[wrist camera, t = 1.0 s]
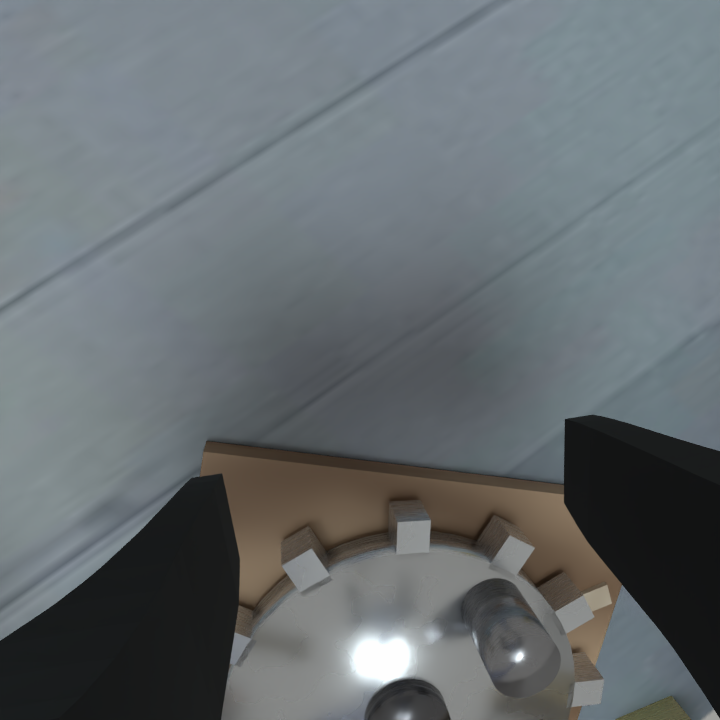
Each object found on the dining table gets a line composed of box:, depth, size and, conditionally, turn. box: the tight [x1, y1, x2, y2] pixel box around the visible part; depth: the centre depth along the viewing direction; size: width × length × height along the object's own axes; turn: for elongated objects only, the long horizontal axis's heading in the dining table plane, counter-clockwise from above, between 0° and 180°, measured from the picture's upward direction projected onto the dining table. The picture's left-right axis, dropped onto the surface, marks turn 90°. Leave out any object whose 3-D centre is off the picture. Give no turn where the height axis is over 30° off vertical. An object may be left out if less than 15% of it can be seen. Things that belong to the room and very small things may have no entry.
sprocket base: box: [200, 441, 622, 720], centre depth 24 cm, size 18×18×1 cm
